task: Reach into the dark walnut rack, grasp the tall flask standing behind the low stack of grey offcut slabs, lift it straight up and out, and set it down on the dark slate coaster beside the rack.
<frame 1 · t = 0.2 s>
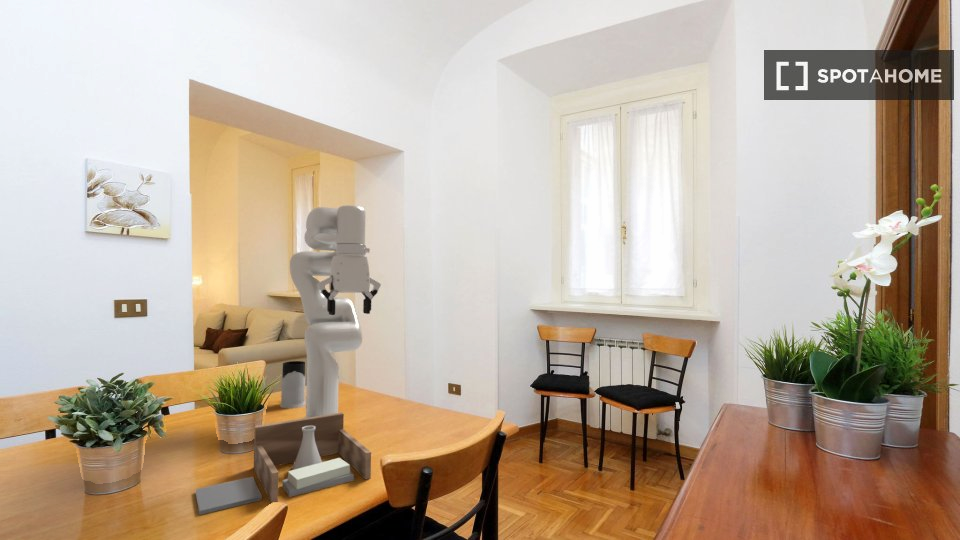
hand: (349, 314, 125), 36 cm above the table, tool pointing down, fingers open, 9 cm apart
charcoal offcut: (318, 486, 103), on the table, touching sage offcut
sage offcut: (319, 477, 103), point 1 cm above the table, touching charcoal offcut
glass holder: (292, 403, 168), on the table
walnut rack: (311, 473, 108), on the table
flask: (307, 470, 111), on the table
slate coaster: (228, 496, 96), on the table
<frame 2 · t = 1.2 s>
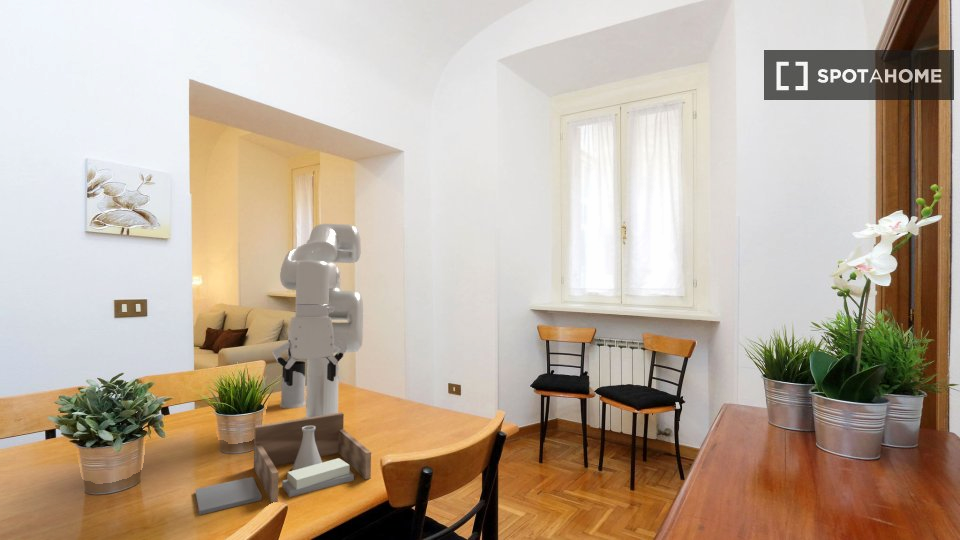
hand: (310, 382, 111), 21 cm above the table, tool pointing down, fingers open, 9 cm apart
nothing on the table moved.
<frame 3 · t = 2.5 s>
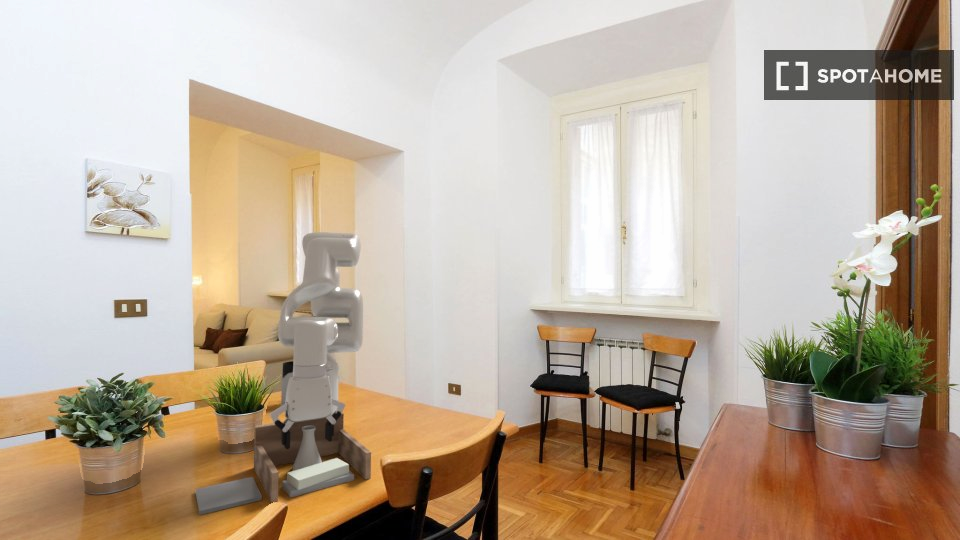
hand: (308, 443, 110), 6 cm above the table, tool pointing down, fingers open, 9 cm apart
nothing on the table moved.
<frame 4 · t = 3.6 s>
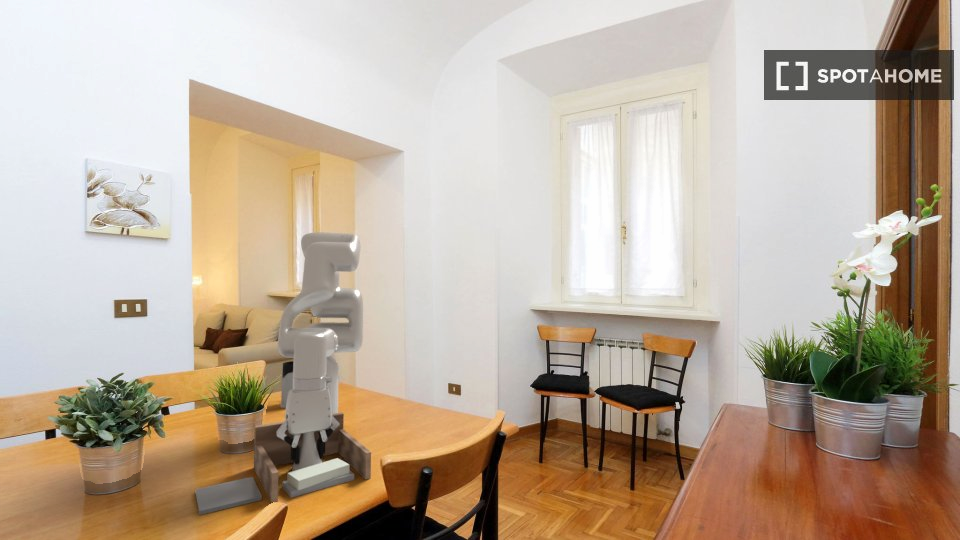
hand: (308, 458, 111), 2 cm above the table, tool pointing down, fingers closed on flask, 4 cm apart
flask: (307, 470, 111), on the table, touching gripper
everything else where it was.
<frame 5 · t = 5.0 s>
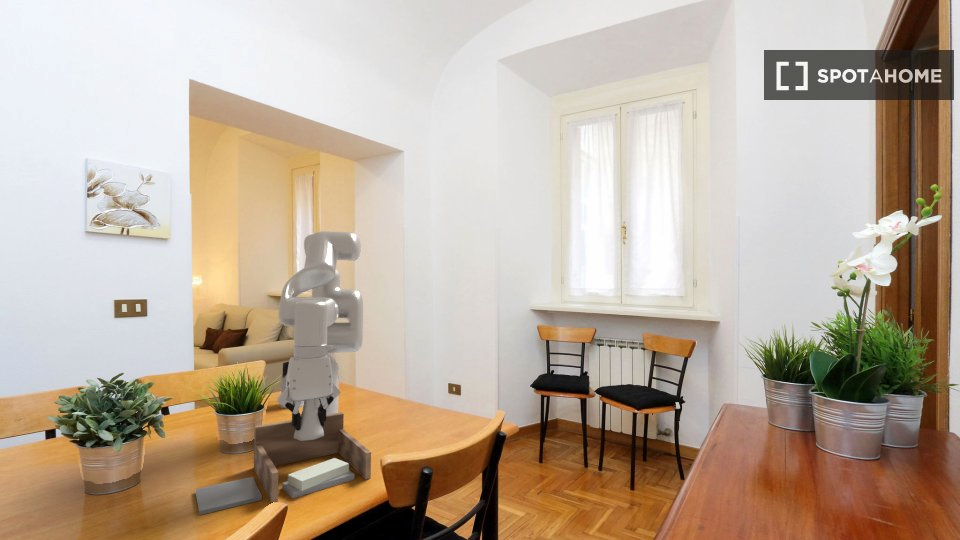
hand: (309, 425, 111), 10 cm above the table, tool pointing down, fingers closed on flask, 4 cm apart
flask: (308, 436, 111), point 7 cm above the table, touching gripper
everything else where it was.
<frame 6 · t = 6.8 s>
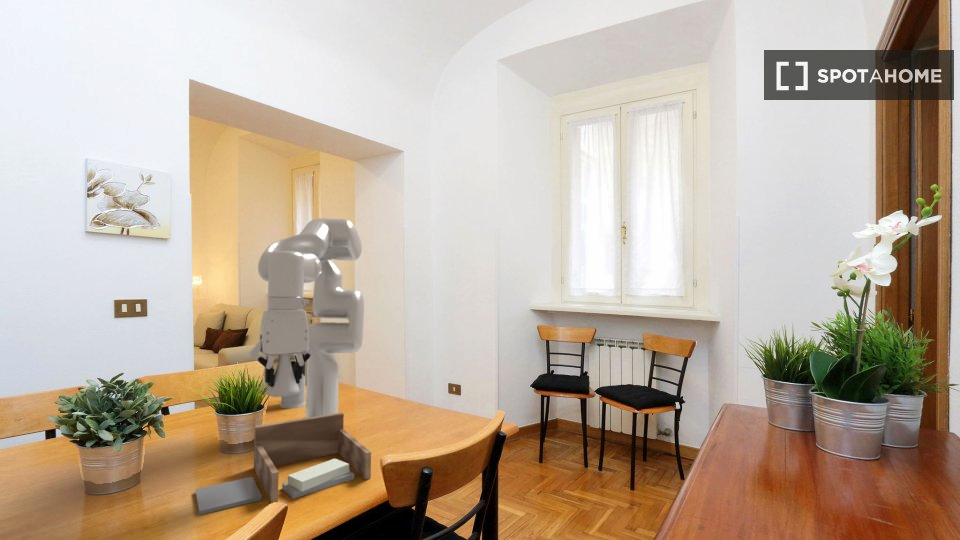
hand: (283, 383, 106), 22 cm above the table, tool pointing down, fingers closed on flask, 4 cm apart
flask: (283, 394, 106), point 19 cm above the table, touching gripper
everything else where it was.
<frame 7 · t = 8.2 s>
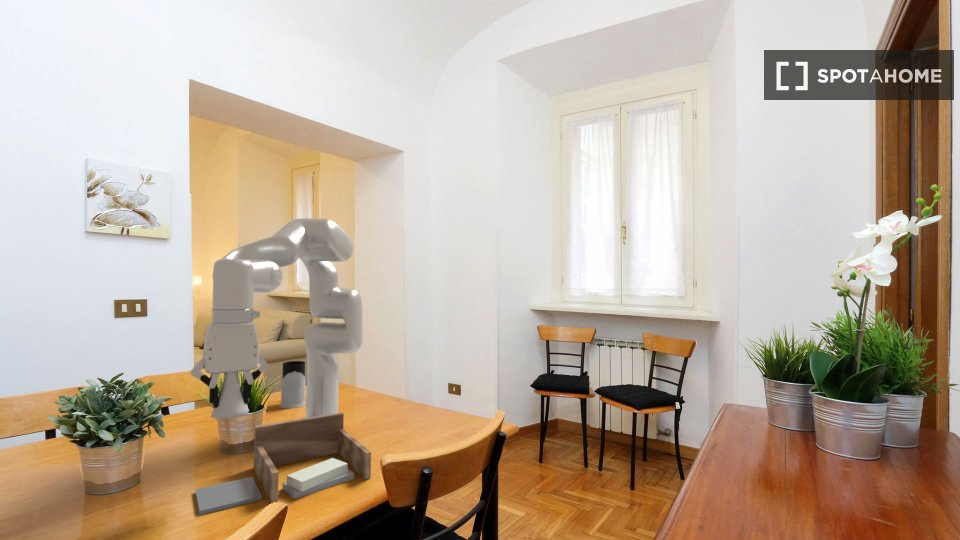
hand: (230, 403, 97), 19 cm above the table, tool pointing down, fingers closed on flask, 4 cm apart
flask: (230, 416, 97), point 17 cm above the table, touching gripper
when the fingers open (4 cm above the table, at t = 11.1 s): flask drops 1 cm, resting on slate coaster.
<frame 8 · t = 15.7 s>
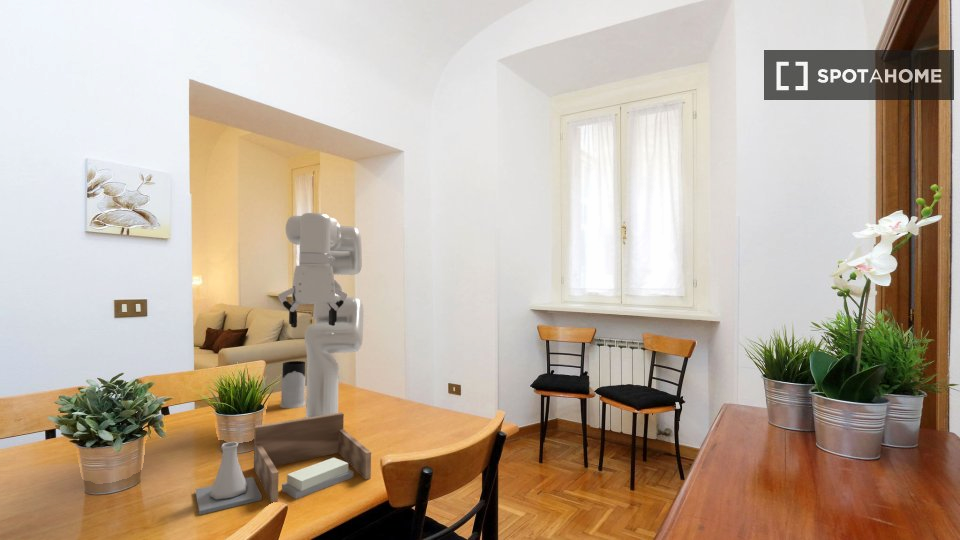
hand: (313, 326, 120), 33 cm above the table, tool pointing down, fingers open, 9 cm apart
flask: (228, 493, 97), point 1 cm above the table, touching slate coaster
at the end: flask inside the target area (0.1 cm from its centre), point 0.6 cm above the table; flask tilted 0°; sage offcut moved 0.7 cm from its start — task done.
